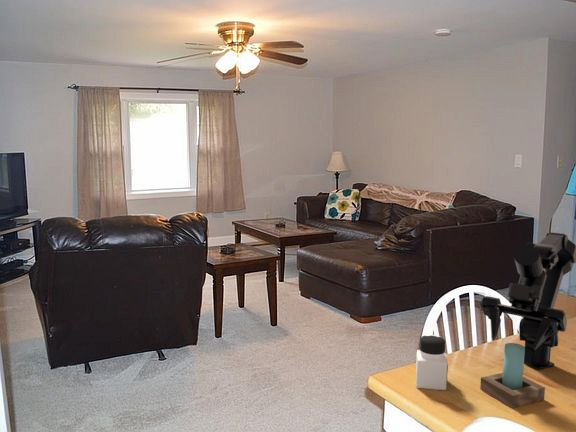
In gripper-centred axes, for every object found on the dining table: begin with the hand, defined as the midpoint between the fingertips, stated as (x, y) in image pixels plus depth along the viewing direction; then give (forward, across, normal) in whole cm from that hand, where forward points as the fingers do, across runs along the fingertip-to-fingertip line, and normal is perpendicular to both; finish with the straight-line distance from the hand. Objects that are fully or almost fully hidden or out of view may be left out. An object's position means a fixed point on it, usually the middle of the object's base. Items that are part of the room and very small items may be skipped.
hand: (513, 344), depth 126 cm
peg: (+8, 0, +10) cm, 13 cm away
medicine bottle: (+13, -18, +6) cm, 23 cm away
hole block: (+8, 0, +10) cm, 13 cm away
